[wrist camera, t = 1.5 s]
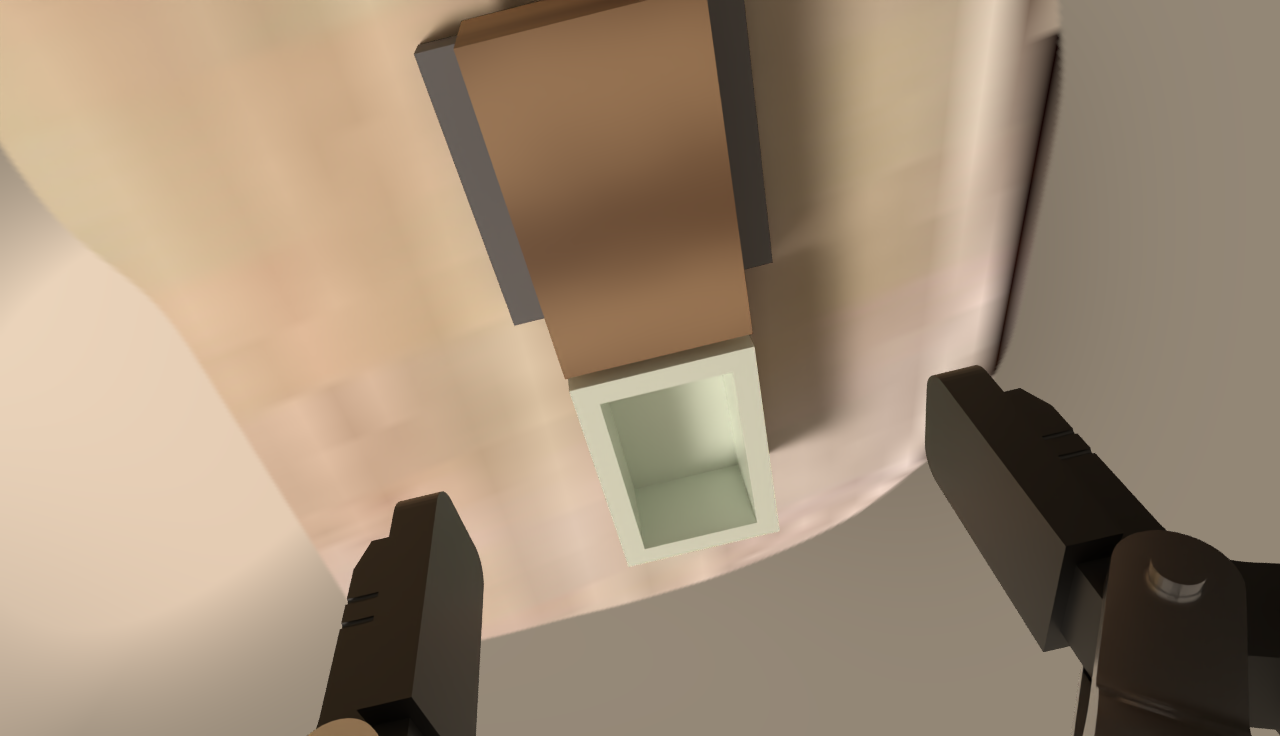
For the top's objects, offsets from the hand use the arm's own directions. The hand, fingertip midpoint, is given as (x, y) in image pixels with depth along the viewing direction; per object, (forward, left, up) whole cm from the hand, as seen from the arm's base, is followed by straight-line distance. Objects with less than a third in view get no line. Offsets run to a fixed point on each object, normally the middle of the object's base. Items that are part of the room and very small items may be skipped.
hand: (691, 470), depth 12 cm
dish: (+10, 0, -14) cm, 17 cm away
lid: (0, 0, -13) cm, 13 cm away
